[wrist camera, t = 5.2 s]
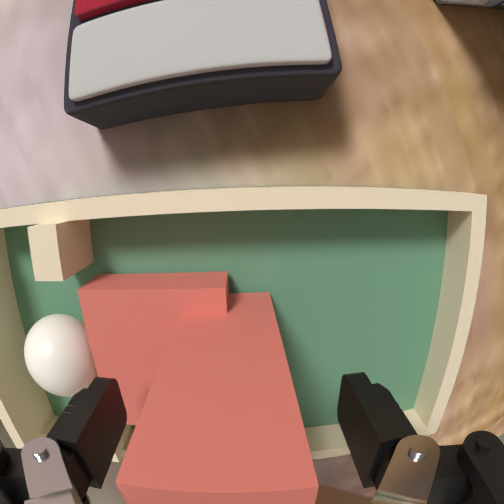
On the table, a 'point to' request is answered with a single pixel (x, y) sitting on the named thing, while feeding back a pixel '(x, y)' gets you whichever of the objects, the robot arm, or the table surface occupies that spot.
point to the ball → (59, 355)
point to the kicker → (199, 390)
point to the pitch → (266, 285)
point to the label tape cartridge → (475, 3)
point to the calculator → (194, 56)
